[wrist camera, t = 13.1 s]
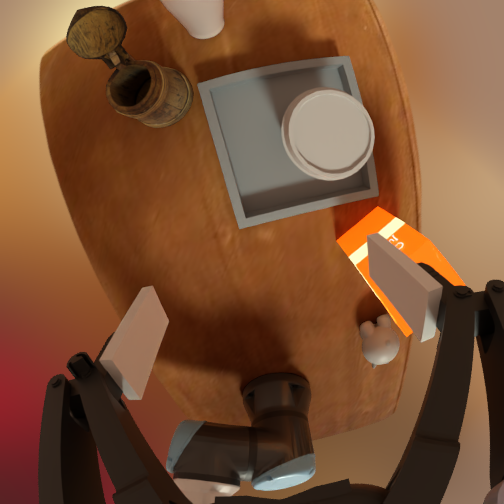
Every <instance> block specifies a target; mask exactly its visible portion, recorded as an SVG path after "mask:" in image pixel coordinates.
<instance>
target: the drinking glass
mask: <svg viewBox="0 0 504 504" xmlns="http://www.w3.org/2000/svg"><path fill="white" fill-rule="evenodd" d="M160 1H161V3H162V4H163V5H164V6H165V8H166V9H167V10H168V11H169V12H170V13H171V14H172V15H173V16H174V17H175V18H176V19H177V20H178V21H179V22H180V23H181V24H182V25H183V26H184V27H185V28H186V30H187V31H188V33H189V34H190V35H191V36H193V37H195V38H198V39H208V38H212V37H214V36H216V35H217V34H218V33H220V32H221V30H222V29H223V27H224V0H160Z"/></svg>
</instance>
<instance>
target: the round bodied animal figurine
mask: <svg viewBox="0 0 504 504" xmlns="http://www.w3.org/2000/svg"><path fill="white" fill-rule="evenodd" d="M360 336H361V338H362V339H363V342H362V351H363V354H364V356H365V358H366V359H367V360H368V361H369V362H371V363H372V367H373V368H375V366H376V365H377V364H378V365H380V364H385V363H386V364H388V362H389V361H391V360H392V359H393V358H394V357H395V356H396V354H397V352H398V349H399V338H398V336H397V334H396V333H395V331H394V330H392V329H391V321H390V317H389V315H387V314H384V315H381V316H379V317H378V318H377V324H372V322H371V321H366V322H364V323H362V324H361V325H360Z"/></svg>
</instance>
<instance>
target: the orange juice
mask: <svg viewBox="0 0 504 504" xmlns="http://www.w3.org/2000/svg"><path fill="white" fill-rule="evenodd" d="M374 233H379V234H380V235H382V236H383V237H384V238H386V239H387V240H388V241H389V242H391V243H392V244H393V245H394V246H396V247H397V248H398V249H399V250H401V251H402V252H403V253H404V254H406V255H407V256H408V257H409V258H411V259H412V260H413V261H414V262H415V263H420V262H423V263H425V264H428V265H430V266H431V267H433V268H434V269H435V271H437V272H439V273H440V275H442V276H443V277H445V278H446V279H447V280H448V281H449V282H450V283H452V284H453V285H454V286H456V285H463V286H466V285H465V284H464V282H463V281H462V280H461V279H460V277H459V276H458V274H457V273H456V272H455V271H454V270H453V268H452V267H451V265H450V264H449V263H448V262H447V260H446V259H445V258H444V257H443V256H442V254H441V253H440V252H439V251H438V249H437V248H436V247H435V246H434V245H433V244H432V242H431V241H430V240H429V239H427V238H426V237H424V236H423V235H422V234H420V233H419V232H417V231H416V230H414V229H413V228H411V227H410V226H408V225H407V224H405V223H404V222H403V221H401V220H400V219H398V218H397V217H394V216H393V215H391V214H390V213H388V212H386V211H385V210H383V209H381V208H380V207H378V206H377V207H376V208H375V209H374V210H373V211H371V212H370V213H369V214H368V215H367V216H366V217H364V218H363V219H362V220H361V221H360V222H358V223H357V224H356V225H355V226H354V227H352V228H351V229H350V230H349V231H347V232H346V233H345V234H344V235H343V236H341V237H340V238H339V239H338V240H336V241H337V242H338V244H339V245H340V246H341V248H342V249H343V250H344V252H345V253H346V254H347V256H348V257H349V258H350V260H351V261H352V262H353V264H354V265H355V266H356V268H357V269H358V270H359V272H360V273H361V275H362V276H363V277H364V279H365V280H366V282H367V283H368V284H369V286H370V287H371V289H372V290H373V292H374V293H375V294H376V296H377V297H378V298H379V300H380V301H381V302H382V304H383V305H384V307H385V308H386V309H387V311H388V312H389V314H390V315H391V317H392V318H393V320H394V321H395V323H396V324H397V325H398V326H399V327H400V329H401V330H402V332H403V333H404V334H405V336H406V337H407V336H409V335H410V334H411V333H413V331H412V330H411V328H410V327H409V326H408V324H407V323H406V322H405V320H404V319H403V318H402V316H401V315H400V314H399V313H398V311H397V310H396V309H395V307H394V306H393V305H392V304H391V302H390V301H389V300H388V298H387V297H386V296H385V295H384V293H383V292H382V291H381V290H380V289H379V287H378V286H377V285H376V284H375V282H374V281H373V280H372V279H371V278H370V276H369V263H368V248H367V236H366V235H370V234H374Z"/></svg>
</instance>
